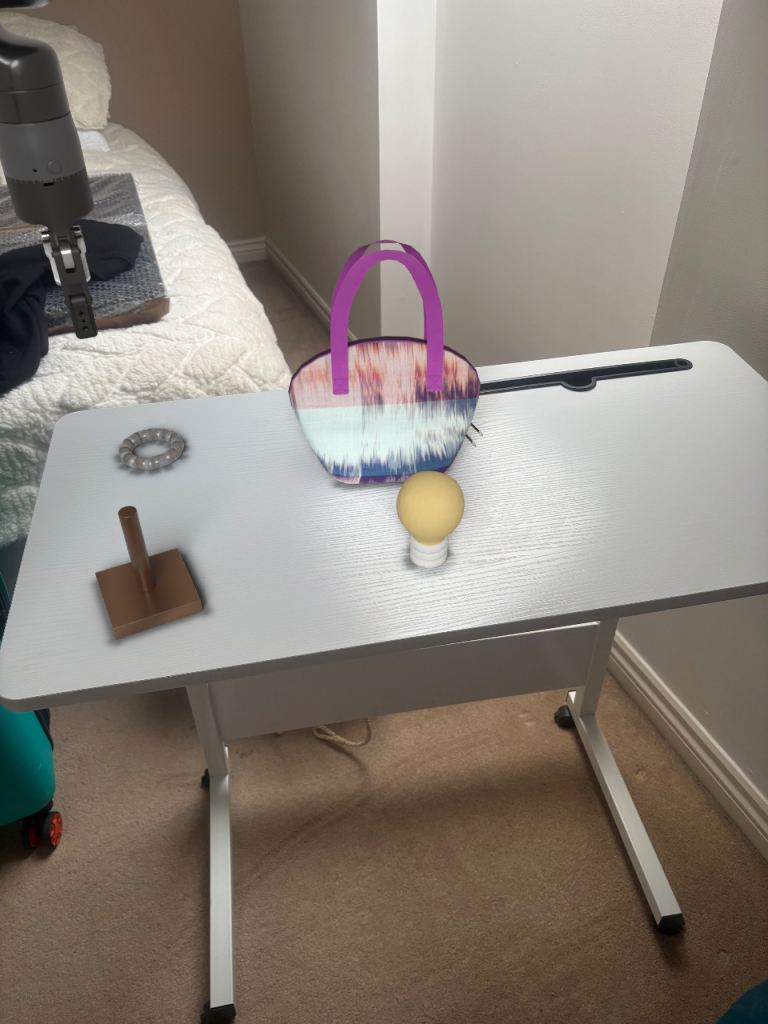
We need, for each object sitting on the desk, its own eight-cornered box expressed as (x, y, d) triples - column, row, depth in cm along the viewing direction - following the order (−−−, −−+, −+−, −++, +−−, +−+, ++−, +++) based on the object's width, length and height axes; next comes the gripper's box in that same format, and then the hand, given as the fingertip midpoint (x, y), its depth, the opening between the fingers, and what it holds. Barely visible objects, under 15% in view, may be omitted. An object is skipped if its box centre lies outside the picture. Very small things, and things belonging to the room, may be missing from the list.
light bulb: (387, 574, 80) (387, 493, 74) (405, 532, 85) (407, 453, 79) (452, 587, 79) (457, 506, 72) (466, 544, 84) (473, 464, 77)
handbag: (474, 430, 99) (490, 223, 83) (487, 480, 92) (508, 263, 76) (295, 437, 98) (277, 229, 82) (293, 488, 91) (273, 270, 75)
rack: (116, 640, 74) (88, 553, 67) (98, 583, 79) (71, 498, 73) (203, 611, 77) (185, 525, 70) (179, 558, 82) (161, 473, 75)
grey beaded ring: (128, 478, 92) (126, 468, 91) (114, 445, 97) (112, 435, 96) (191, 461, 95) (189, 451, 94) (175, 430, 100) (173, 420, 99)
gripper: (0, 148, 84) (42, 298, 94) (5, 192, 74) (52, 355, 84) (76, 140, 86) (110, 288, 96) (92, 182, 76) (128, 342, 86)
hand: (83, 319), depth 90 cm, fingers open, 8 cm apart
